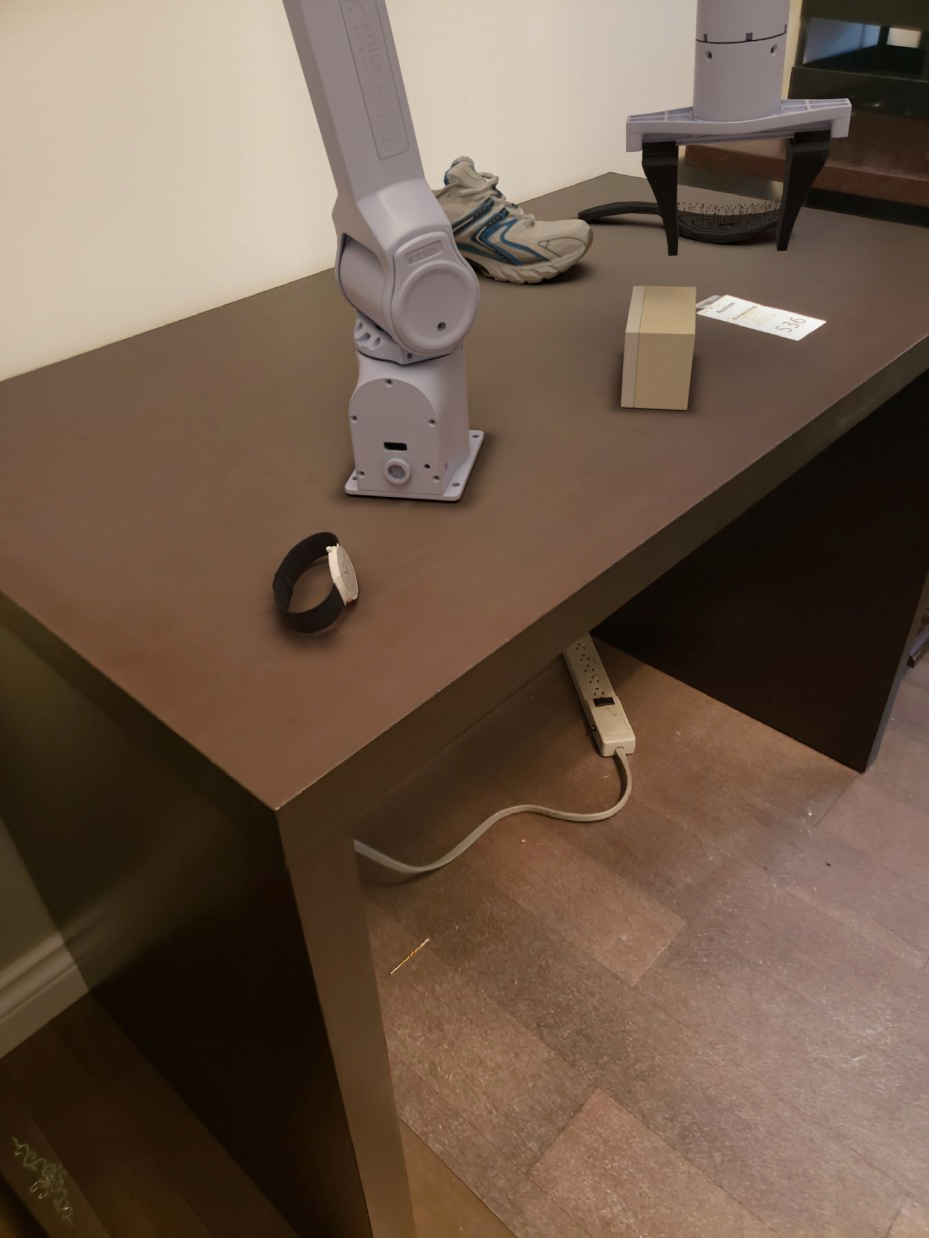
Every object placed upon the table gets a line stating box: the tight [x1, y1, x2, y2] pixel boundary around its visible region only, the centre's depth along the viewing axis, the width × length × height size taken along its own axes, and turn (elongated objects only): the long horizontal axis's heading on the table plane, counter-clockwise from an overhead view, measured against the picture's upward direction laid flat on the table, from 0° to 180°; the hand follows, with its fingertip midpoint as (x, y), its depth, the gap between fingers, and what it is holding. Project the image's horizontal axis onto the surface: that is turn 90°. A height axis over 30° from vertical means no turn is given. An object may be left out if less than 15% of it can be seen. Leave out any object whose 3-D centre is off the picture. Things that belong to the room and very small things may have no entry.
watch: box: [271, 531, 359, 635], centre depth 53 cm, size 8×5×4 cm, turn 3°
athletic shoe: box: [431, 155, 595, 285], centre depth 97 cm, size 10×23×12 cm, turn 78°
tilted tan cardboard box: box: [620, 285, 697, 411], centre depth 73 cm, size 10×5×6 cm, turn 169°
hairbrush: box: [577, 198, 781, 244], centre depth 106 cm, size 8×4×25 cm
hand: (726, 249), depth 69 cm, fingers open, 7 cm apart
